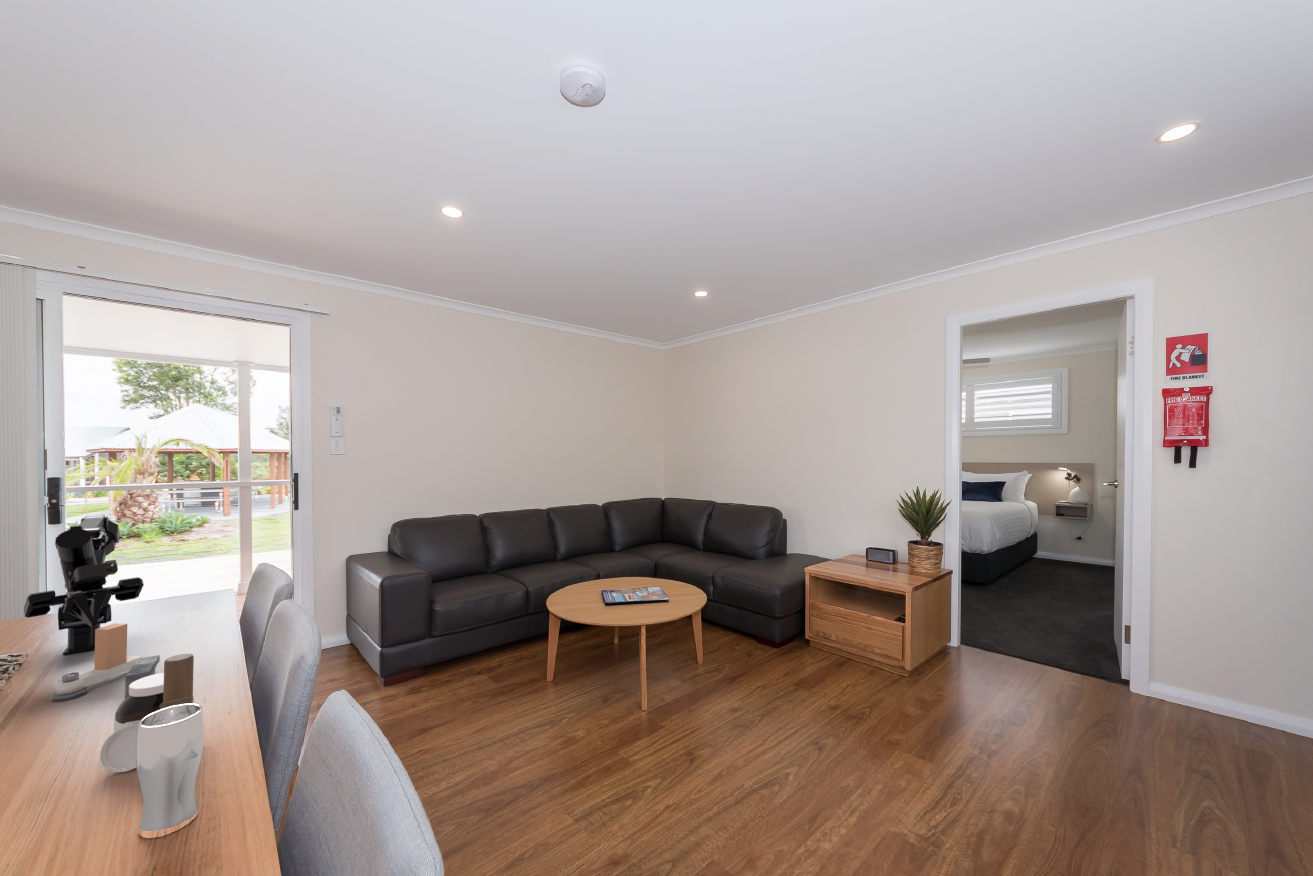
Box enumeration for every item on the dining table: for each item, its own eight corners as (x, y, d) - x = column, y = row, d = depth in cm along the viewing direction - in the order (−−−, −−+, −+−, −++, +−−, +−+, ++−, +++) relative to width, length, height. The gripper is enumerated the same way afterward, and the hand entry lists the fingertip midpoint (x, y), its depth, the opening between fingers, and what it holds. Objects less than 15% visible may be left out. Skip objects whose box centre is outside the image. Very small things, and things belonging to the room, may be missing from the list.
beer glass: (213, 812, 75) (216, 707, 75) (154, 847, 68) (156, 731, 69) (182, 801, 77) (184, 699, 78) (121, 834, 71) (124, 722, 71)
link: (67, 695, 108) (68, 642, 108) (49, 694, 108) (51, 641, 108) (144, 665, 123) (145, 618, 123) (129, 664, 123) (130, 618, 123)
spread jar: (188, 727, 98) (189, 665, 98) (201, 750, 91) (203, 682, 91) (94, 756, 88) (96, 687, 89) (101, 784, 81) (102, 708, 82)
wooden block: (157, 800, 78) (160, 678, 78) (161, 767, 86) (164, 656, 86) (190, 789, 80) (193, 671, 80) (191, 758, 88) (193, 650, 88)
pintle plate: (54, 695, 110) (55, 674, 110) (89, 688, 113) (90, 667, 114) (48, 704, 106) (49, 682, 106) (84, 696, 110) (85, 675, 110)
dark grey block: (125, 700, 108) (125, 675, 108) (137, 681, 117) (138, 658, 117) (148, 695, 110) (148, 671, 110) (159, 677, 119) (159, 655, 119)
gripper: (28, 558, 116) (39, 615, 111) (141, 544, 132) (157, 594, 127) (18, 588, 120) (29, 646, 114) (130, 572, 136) (144, 622, 130)
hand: (94, 625), depth 121 cm, fingers closed
